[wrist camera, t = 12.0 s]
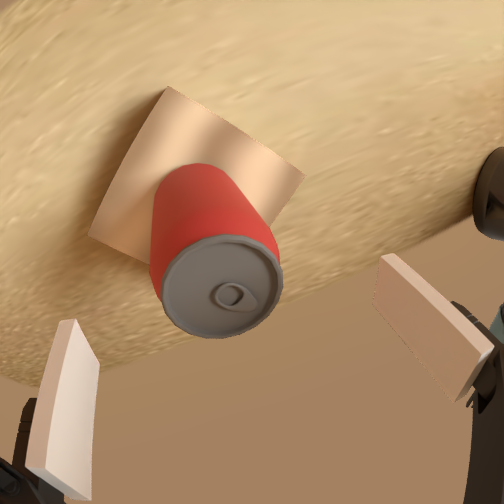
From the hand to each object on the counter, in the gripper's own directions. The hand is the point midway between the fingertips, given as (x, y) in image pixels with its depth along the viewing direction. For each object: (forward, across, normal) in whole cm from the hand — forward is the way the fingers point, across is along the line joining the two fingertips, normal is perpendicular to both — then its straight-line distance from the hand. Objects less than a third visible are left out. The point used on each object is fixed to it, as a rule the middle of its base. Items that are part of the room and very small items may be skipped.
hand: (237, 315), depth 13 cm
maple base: (+18, +1, 0) cm, 18 cm away
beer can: (+14, 0, 0) cm, 14 cm away
